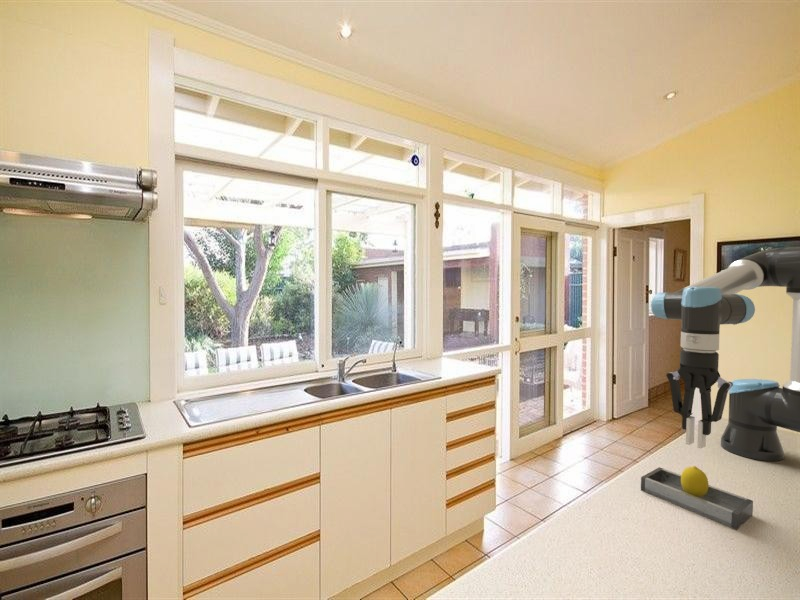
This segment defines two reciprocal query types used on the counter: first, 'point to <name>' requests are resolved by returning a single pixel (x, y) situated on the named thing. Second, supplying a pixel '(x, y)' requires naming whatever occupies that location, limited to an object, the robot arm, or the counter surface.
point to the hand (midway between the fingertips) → (695, 444)
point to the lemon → (694, 481)
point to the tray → (699, 499)
